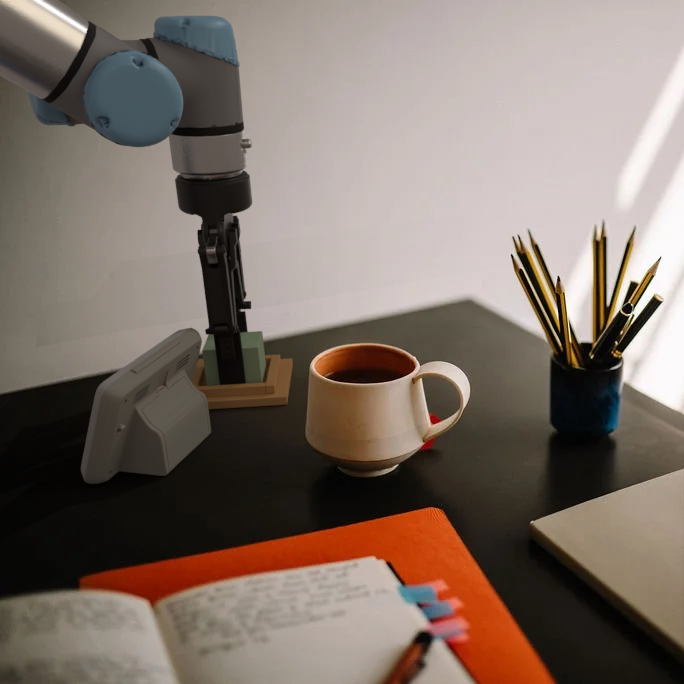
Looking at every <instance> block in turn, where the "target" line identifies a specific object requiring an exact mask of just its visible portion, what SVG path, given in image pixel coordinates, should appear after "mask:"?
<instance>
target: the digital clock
mask: <svg viewBox="0 0 684 684" xmlns="http://www.w3.org/2000/svg"><path fill="white" fill-rule="evenodd" d="M202 343H203V339H202V336H201V334H200V333H199V331H198V329H195V328H193V327H188V328H182V329H178V330H176V331H175V332H173V333H172V334H170V335H169V336H168V337H166V338H164V339H163V340H162V341H160V342H159V343H157V344H155V345H154V346H152V347H151V348H150V349H148V350H146V351H145V352H144V353H142V354H141V355H139V356H138V357H137V358H135V359H134V360H132V361H131V362H129V363H128V364H126V365H125V366H124V367H122V368H121V369H118V371H115V373H113V374H112V375H110V376H109V377H108V378H106V379H104V380H103V381H102V382H101V383H100V384H99V385H98V387H96V391H95V392H94V393H95V394H94V398H93V403H92V407H91V412H90V416H89V417H90V418H89V423H88V428H87V432H86V439H85V444H84V449H83V453H82V459H81V464H80V473H81V476H82V478H83V481H84V482H85V483H86V484H89V485H98V484H103V483H106V482H108V481H109V480H110V479H112V478H113V477H114V476H115V475H116V474H118V473H119V472H121V473H122V472H123V473H130V474H131V473H132V474H140V475H150V476H157V477H158V476H159V477H166V476H167V475H169V473H171V471H173V470H174V469H175V468H176V467H177V466H178V465H179V464H180V463H182V461H183V460H184V459H186V457H187V456H189V455H190V454H191V453H192V452H193V451H194V450H195V449H196V448H197V447H198V446H199V445H201V443H203V441H204V440H205V439H206V438H208V437H209V436H210V435H211V434H212V425H211V419H210V411H209V410H210V409H208V402H207V399H206V396H205V394H204V393H202V392H201V391H199V390H197V389H196V387H195V386H194V385H193V384H192V381H193V377H194V373H195V369H196V365H197V362H198V360H199V356H200V353H201V348H202Z"/></svg>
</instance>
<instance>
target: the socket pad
mask: <svg viewBox="0 0 684 684" xmlns="http://www.w3.org/2000/svg"><path fill="white" fill-rule="evenodd" d="M265 361H266V368H265V373H264V378H263V382H262V383H247V384H230V385H213V386H207V382H206V375H205V368H204V360H203V358H198V361H197V365H196V369H195V373H194V377H193V381H192V384H193V385H194V386H195V387H196V389H197V390H199V391H201V392H202V393H204V394H205V396H206V399H207V402H208V410H221V409H222V410H223V409H224V410H225V409H237V408H255V407H269V406H270V407H271V406H286V405H288V402H289V400H288V399H289V395H290V388H291V383H292V382H291V380H292V376H293V375H292V374H293V368H294V360H293V358H292V357H291V358H281V354H265Z"/></svg>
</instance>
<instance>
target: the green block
mask: <svg viewBox="0 0 684 684" xmlns="http://www.w3.org/2000/svg"><path fill="white" fill-rule="evenodd" d="M240 335H241V343H242V353H243V361H244V370H245V379H246V384H247V383H262V382H263V378H264V373H265V368H266V361H265V355H266V353H265V344H264V336H263V331H262V330H256V331H248V332H240ZM201 352H202V359H203V360H204V368H205V375H206V382H207V386H213V385H220V381H219V373H218V366H217V358H216V350H215V342H214V335H211V334H208V335H207V337H206V340H205V342H204V345H203V348H202V350H201Z"/></svg>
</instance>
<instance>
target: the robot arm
mask: <svg viewBox="0 0 684 684" xmlns="http://www.w3.org/2000/svg"><path fill="white" fill-rule="evenodd" d="M153 27H154V32H153V33H152V36H153V37H145V38H139V39H120V38H118V37H116V36H115V35H113V34H111V32H108V31H107V30H105V29H104V28H103V27H101V26H98V25H97V24H95V23H93V22H92V21H90V20H89V19H88V18H87V17H86V16H84V15H82V14H81V13H79V12H78V11H76V10H74V9H73V8H71V7H70V6H68V5H67V4H66V3H63V2H62V1H60V0H0V77H1V78H2V79H4V80H6V81H8V82H10V83H12V84H13V85H15V86H17V87H19V88H21V89H22V90H24V91H26V92H27V94H28V98H29V102H30V105H31V109H32V111H33V114H34V116H35V118H36V119H37V120H38V122H39V123H41V124H42V125H45V126H68V127H75V126H76V125H77V126H78V125H85V126H87V127H89V128H91V129H93V130H94V131H95V132H96V133H97V134H98V135H100V136H101V137H102V138H104V139H106V140H107V141H110V142H112V143H113V144H116V145H118V146H123V147H129V148H131V147H132V148H146V147H151V146H156V145H157V144H159V143H161V142H163V141H165V140H166V139H168V142H169V148H170V149H169V150H170V158H171V164H172V169H173V171H174V172H176V173H177V174H178V175H176V178H174V183H175V191H176V198H177V207H178V209H179V210H180V211H181V212H182V213H184V214H186V215H191V216H194V215H195V216H198V217H200V218H201V223H200V229H197V231H196V232H197V233H196V234H197V243H198V246H197V248H198V249H197V254H198V258H199V261H200V267H201V274H202V281H203V289H204V298H205V305H206V312H207V313H206V314H207V320H208V321H207V322H208V328H205V329H204V332H205V335H207V336H208V335H209V334H211V335H214V342H215V350H216V358H217V366H218V373H219V381H220V385H230V384H246V379H245V370H244V361H243V353H242V343H241V335H240V332H249V331H248V323H247V322H248V321H247V314H246V310H252V300H246V298H247V291H246V286H245V285H246V284H245V277H244V268H243V259H242V247H241V241H240V237H241V225H240V219H239V217H238V215H234V214H238V213H242V212H244V211H247V210H248V209H250V207H252V205H253V196H252V195H253V194H252V184H251V176H250V174H249V173H248V172H247V171H245V169H246V168H247V167H248V166H249V161H248V152H247V149H251V148H252V147H253V142H252V140H251V139H250V138H244V136H245V133H246V132H245V124H244V114H243V102H242V91H241V90H242V89H241V79H240V78H241V77H240V76H241V75H240V67H241V66H240V65H241V64H240V61H239V58H238V50H237V44H236V39H235V33H234V28H233V26H232V24H231V23H230V22H229V21H228V20H227V19H226V18H224V17H223V16H218V15H175V16H169V15H167V16H166V15H165V16H159V17H157V18H156V19H155V20H154V24H153ZM244 310H245V311H244Z"/></svg>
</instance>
